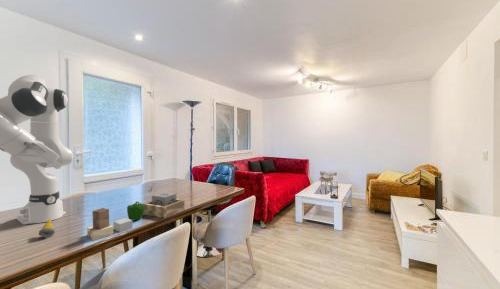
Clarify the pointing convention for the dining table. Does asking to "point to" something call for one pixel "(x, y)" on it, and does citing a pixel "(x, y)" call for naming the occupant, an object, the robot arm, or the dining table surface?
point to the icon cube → (163, 199)
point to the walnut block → (100, 218)
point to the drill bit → (47, 230)
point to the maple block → (99, 232)
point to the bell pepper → (135, 211)
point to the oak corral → (163, 208)
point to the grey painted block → (123, 224)
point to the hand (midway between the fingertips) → (52, 166)
